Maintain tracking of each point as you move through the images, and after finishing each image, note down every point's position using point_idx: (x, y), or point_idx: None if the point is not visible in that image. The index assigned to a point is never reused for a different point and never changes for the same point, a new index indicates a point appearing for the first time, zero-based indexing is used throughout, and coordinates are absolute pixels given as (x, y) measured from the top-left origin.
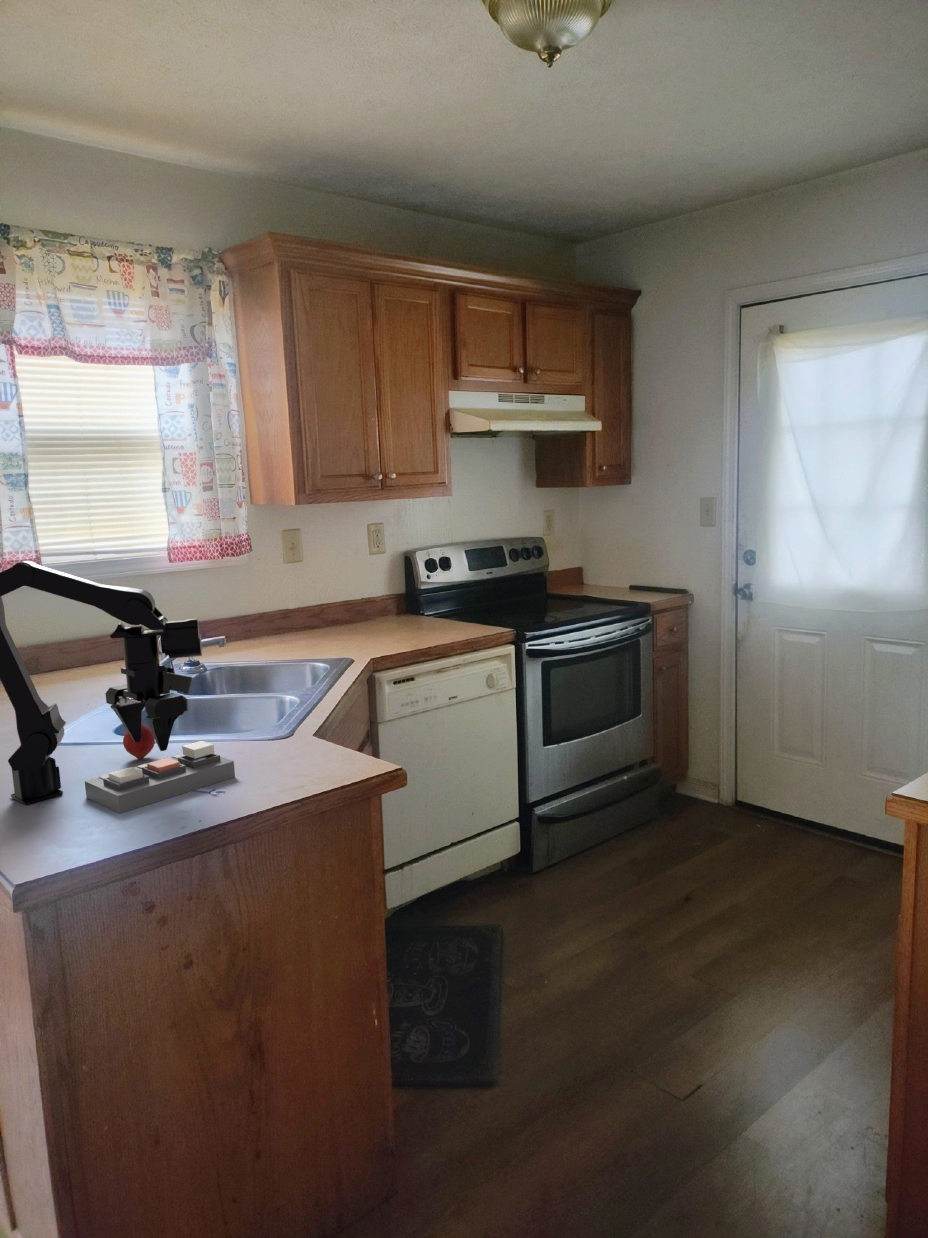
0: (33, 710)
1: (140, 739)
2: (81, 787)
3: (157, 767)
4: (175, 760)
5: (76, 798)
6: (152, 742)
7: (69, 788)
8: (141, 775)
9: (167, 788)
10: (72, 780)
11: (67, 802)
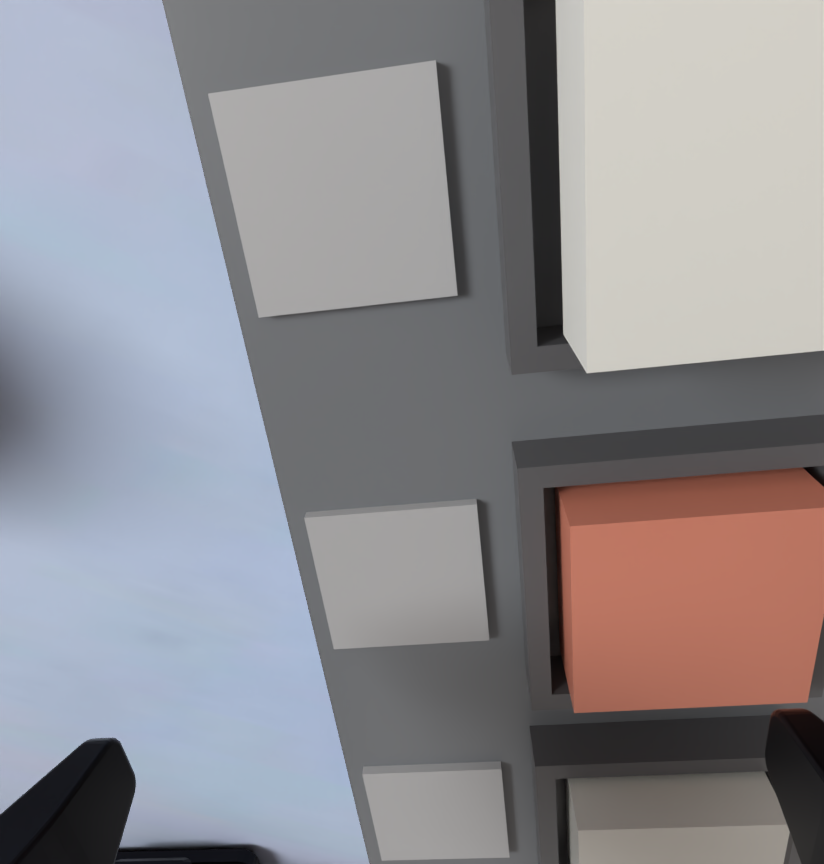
0: None
1: (103, 753)
2: (181, 765)
3: (780, 701)
4: (750, 514)
5: (354, 825)
6: None
7: (156, 800)
8: (773, 799)
9: None
10: (15, 755)
11: None
